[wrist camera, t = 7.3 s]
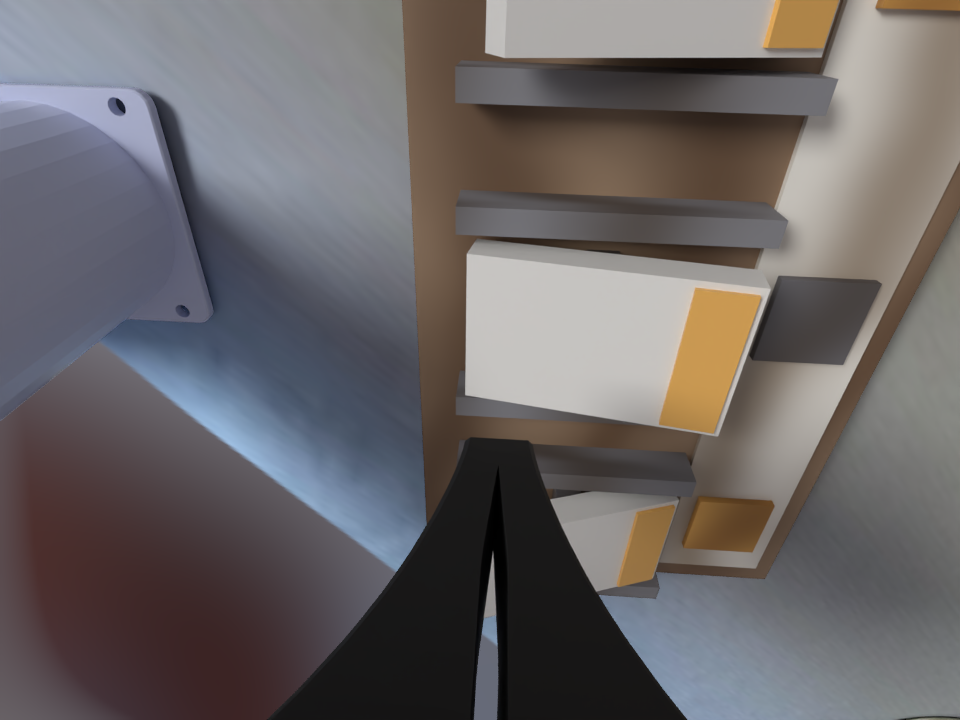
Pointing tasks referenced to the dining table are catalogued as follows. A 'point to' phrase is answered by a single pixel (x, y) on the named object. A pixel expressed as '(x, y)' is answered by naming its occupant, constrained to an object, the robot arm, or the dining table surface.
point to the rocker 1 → (658, 28)
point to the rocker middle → (609, 333)
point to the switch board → (689, 240)
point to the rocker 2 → (611, 536)
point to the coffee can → (935, 718)
